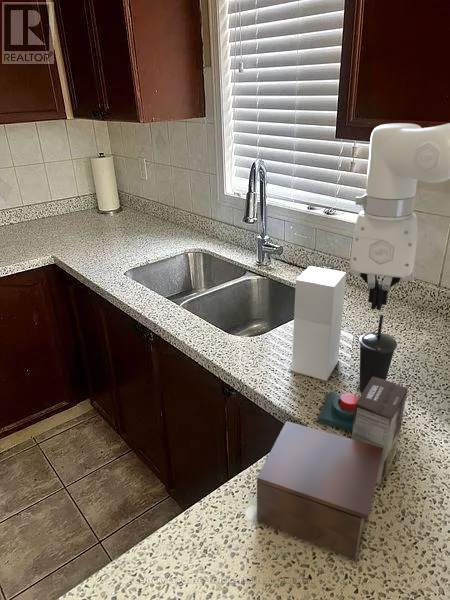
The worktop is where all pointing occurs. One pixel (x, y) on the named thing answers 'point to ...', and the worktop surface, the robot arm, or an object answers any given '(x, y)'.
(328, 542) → the chest
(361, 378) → the drinking cup
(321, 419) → the red push button base
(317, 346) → the tall white carton
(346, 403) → the button
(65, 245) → the worktop surface
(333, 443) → the lid
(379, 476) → the coffee box
